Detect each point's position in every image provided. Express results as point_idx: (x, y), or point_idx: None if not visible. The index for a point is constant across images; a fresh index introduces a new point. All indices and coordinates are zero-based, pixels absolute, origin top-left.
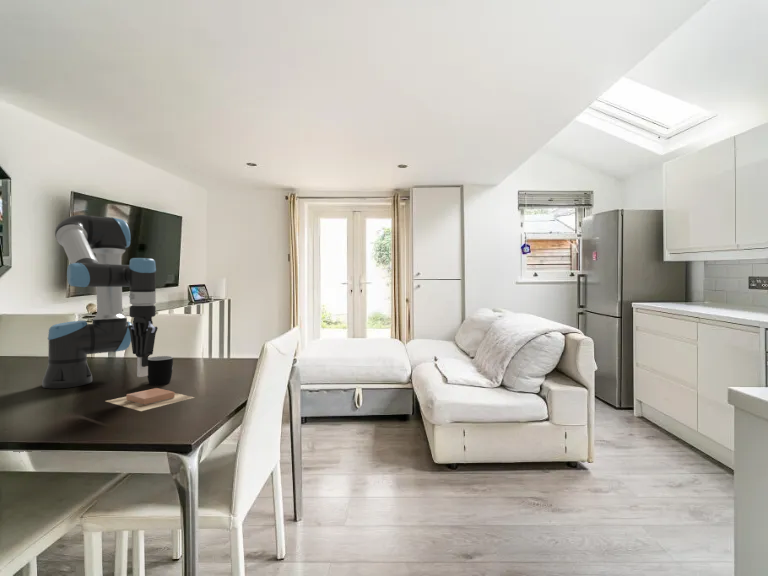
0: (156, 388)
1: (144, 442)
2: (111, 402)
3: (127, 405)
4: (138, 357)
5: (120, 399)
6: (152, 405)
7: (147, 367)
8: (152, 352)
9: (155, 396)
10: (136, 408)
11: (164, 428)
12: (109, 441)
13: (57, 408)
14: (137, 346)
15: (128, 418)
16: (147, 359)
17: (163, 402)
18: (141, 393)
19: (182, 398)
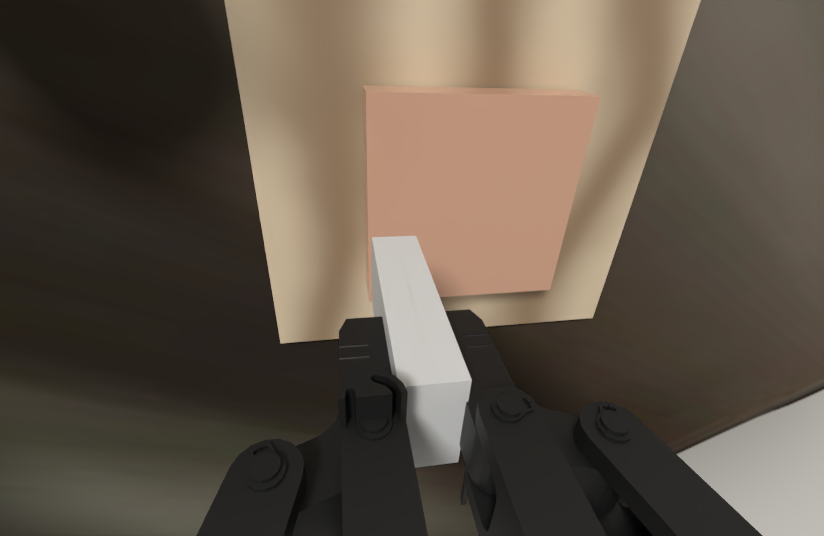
0: (384, 103)
1: (779, 402)
2: (337, 334)
3: None
4: (426, 462)
5: (313, 288)
6: (573, 251)
7: (432, 284)
8: (650, 436)
9: (564, 232)
10: (543, 312)
11: (778, 337)
12: (689, 440)
13: (213, 457)
14: None
15: (592, 359)
16: (503, 373)
17: (586, 190)
18: (427, 244)
19: (636, 66)
